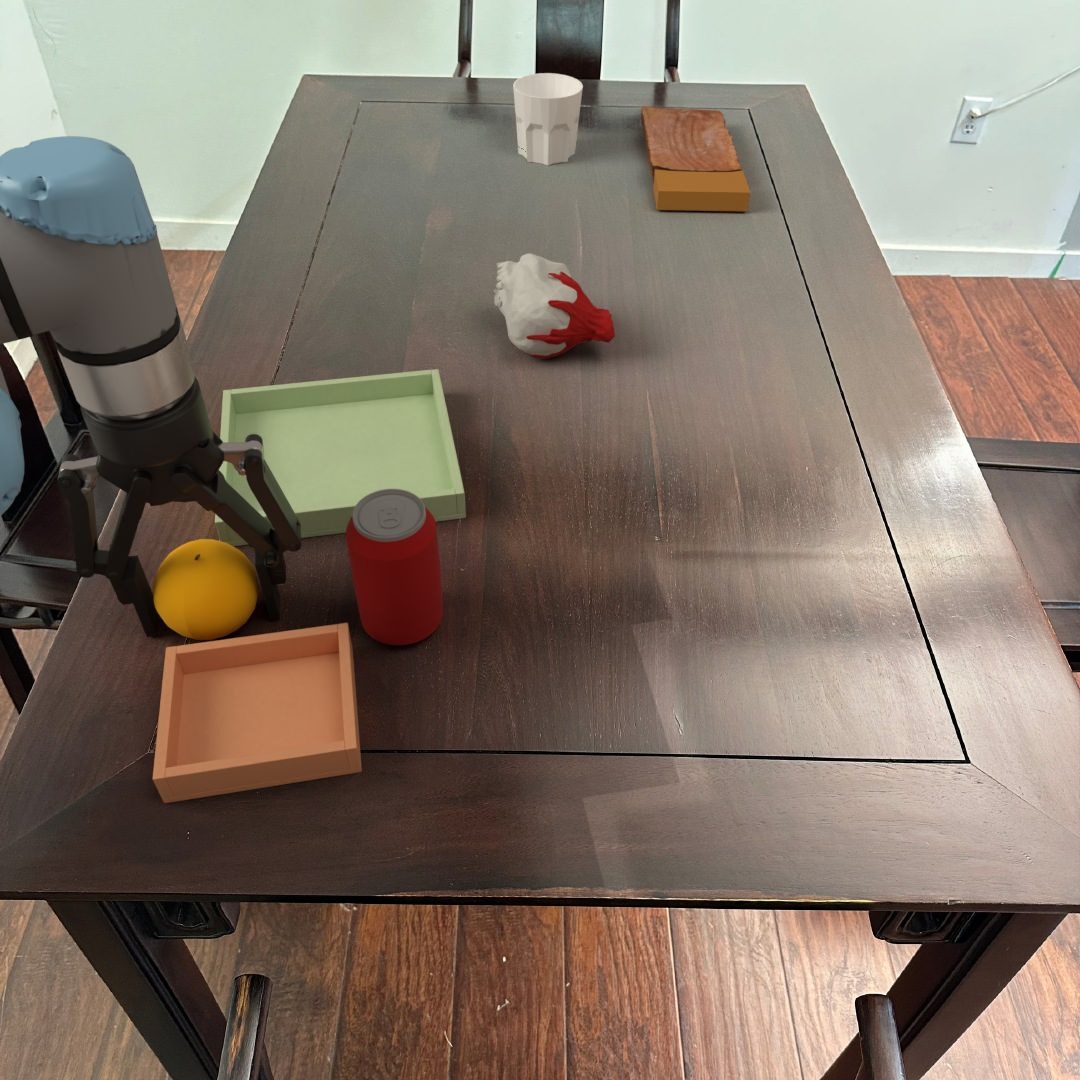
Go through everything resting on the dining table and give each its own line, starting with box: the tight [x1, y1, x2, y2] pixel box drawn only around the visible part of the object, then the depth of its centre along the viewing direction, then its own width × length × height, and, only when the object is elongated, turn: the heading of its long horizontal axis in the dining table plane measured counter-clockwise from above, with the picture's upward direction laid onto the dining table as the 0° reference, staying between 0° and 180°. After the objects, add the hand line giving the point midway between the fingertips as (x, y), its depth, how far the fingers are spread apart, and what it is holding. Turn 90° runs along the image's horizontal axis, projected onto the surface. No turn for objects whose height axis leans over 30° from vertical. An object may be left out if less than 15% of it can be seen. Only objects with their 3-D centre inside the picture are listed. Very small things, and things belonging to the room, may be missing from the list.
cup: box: [512, 72, 584, 167], centre depth 142 cm, size 10×10×10 cm
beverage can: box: [345, 489, 444, 646], centre depth 75 cm, size 7×7×12 cm
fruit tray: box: [214, 368, 467, 547], centre depth 92 cm, size 22×20×3 cm
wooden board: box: [640, 106, 751, 212], centre depth 142 cm, size 13×30×3 cm, turn 0°
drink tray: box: [152, 622, 363, 804], centre depth 71 cm, size 14×12×3 cm
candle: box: [493, 252, 616, 359], centre depth 106 cm, size 9×11×15 cm
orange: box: [152, 538, 260, 641], centre depth 76 cm, size 8×8×8 cm
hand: (214, 615), depth 79 cm, fingers open, 9 cm apart
